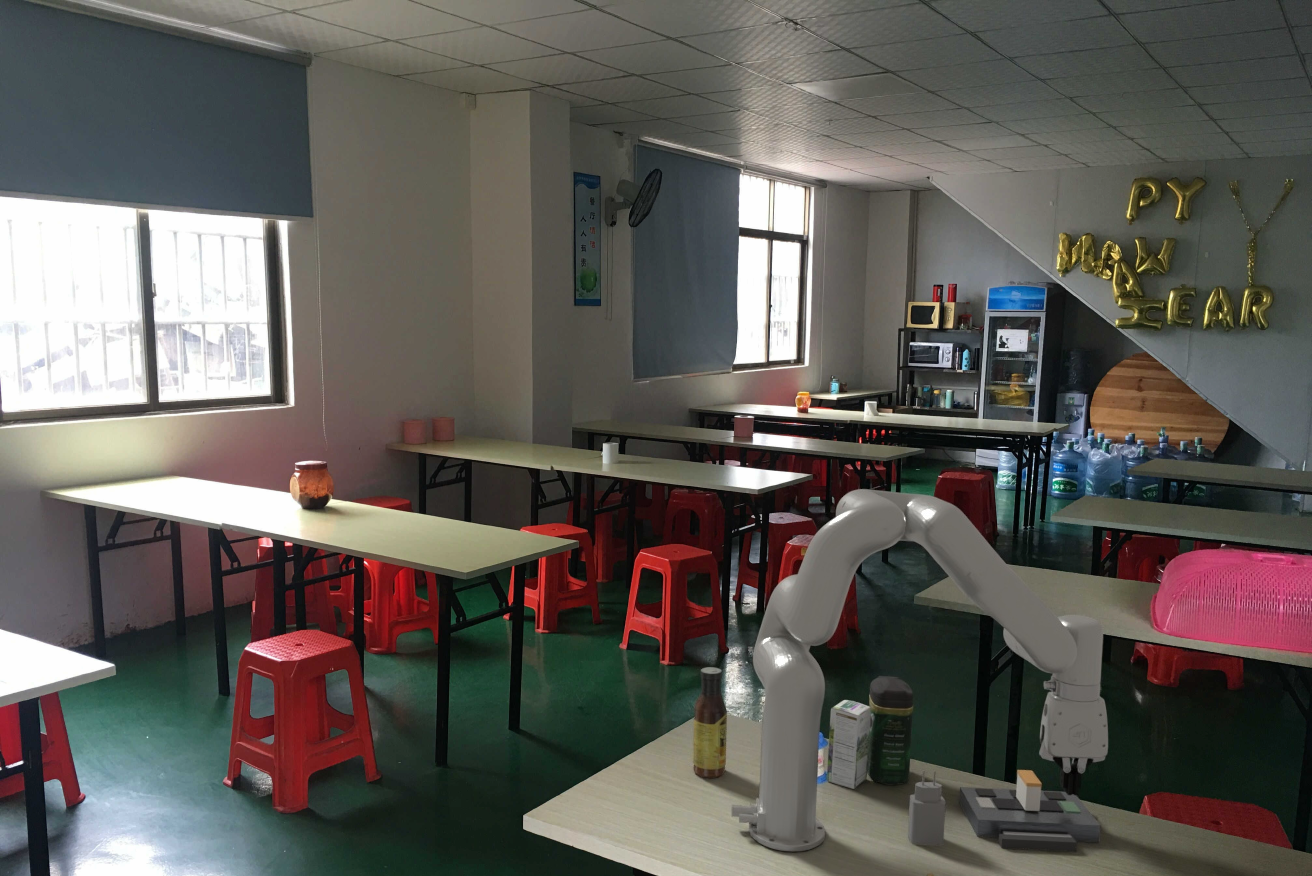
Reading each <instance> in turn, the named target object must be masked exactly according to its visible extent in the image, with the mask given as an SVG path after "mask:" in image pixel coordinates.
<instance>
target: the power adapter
mask: <svg viewBox="0 0 1312 876" xmlns="http://www.w3.org/2000/svg"><path fill="white" fill-rule="evenodd" d="M936 774H937V773H936V770H934V771H933V777H932V778H933V779H932V781H928V782H927V781H925V770H922V779H921V780H922V781H919V782H916V783H915V784H914V794H910V795H909V809H908V828H907V839H908V840H909V842H910V844H912V845H915V846H943V845H944V840H945V839H944V837H945V825H946V823H945V820H946V804H947V803H946V802H947V801H946V800H945V798H944V797H943V796H942V787H943V785H942V784H940V783H938V782H936Z"/></svg>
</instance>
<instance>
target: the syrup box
mask: <svg viewBox="0 0 1312 876" xmlns="http://www.w3.org/2000/svg"><path fill="white" fill-rule="evenodd" d="M870 718H871V708H870V707H869V705H866V704H863V703H860V702H858V701H857V702H856V701H854V700H848V699H844V700H842V701H840V702H839V703H837V704H836V705H834V706H833V707H831V709H830V719H829V720H830V721H829V733H828V734H829V735H828V737H829V738H828V753H827V754H828V755H827V767H826V768H827V769H826V770H827V771H826V781H827V782H829V783H832V784H835V785H838V786H842V787H845V788H849V789H853V790H855V789H856V788H857V787H858V786H860V785H861V784H862V783H863V782H865V780H867V777H868V773H867V765H868V750H869V734H870Z"/></svg>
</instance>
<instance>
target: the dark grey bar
mask: <svg viewBox="0 0 1312 876" xmlns="http://www.w3.org/2000/svg"><path fill="white" fill-rule="evenodd" d="M1077 843H1078V842H1076V841H1075V839H1074V838H1073V837H1071V835H1067V834H1046V833H1026V832H1005V831H1003V834H999V838H998V844H999V846H1000V848H1001V849H1013V850H1015V849H1016V850H1032V851H1033V850H1034V851H1049V852H1051V851H1053V852H1058V851H1059V852H1073V853H1074V852H1075V853H1076V852H1077Z"/></svg>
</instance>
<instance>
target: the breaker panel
mask: <svg viewBox="0 0 1312 876" xmlns="http://www.w3.org/2000/svg"><path fill="white" fill-rule="evenodd" d="M1016 790H1017V789H1016V788H1014V789H1013V788H1011V789H1009V788H994V787H993V788H991V787H990V788H989V787H972V786H971V787H968V786H964V787H963V786H960V787H959V797H958V800H959V801H958V804H959V805H960V807H961V809H962V811H963V814H964V815H965V816H966V817H965V818H967V820H968V822H969V824H970V825H971V827H972V830H973V831H974V833H975V836H976V837H978V838H980V837H981V838H994V839H995V838H997V839H999V834H1003V831H1005V832H1026V833H1046V834H1067V835H1071V837H1073V838H1074V839H1075V841H1076V842H1077V843H1079V842H1080V843H1081V842H1082V843H1100V836H1101V835H1100V834H1101V824H1100V823H1099V822H1098V820H1097V819H1096V818H1095V817H1094V815H1093V814H1091V811H1089V809H1088V808H1087V807H1086V805H1084V803H1083V802H1082V801H1081V800H1080V798H1079V796H1077V795H1073V794H1072V795H1067V793H1066V792H1065V791H1057V790H1056V791H1055V790H1054V791H1053V790H1041V796H1040V811H1027V810H1025V809H1024V808H1023V806H1022V805H1021V803H1020V802H1019V800H1018V799H1017V797H1016Z"/></svg>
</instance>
